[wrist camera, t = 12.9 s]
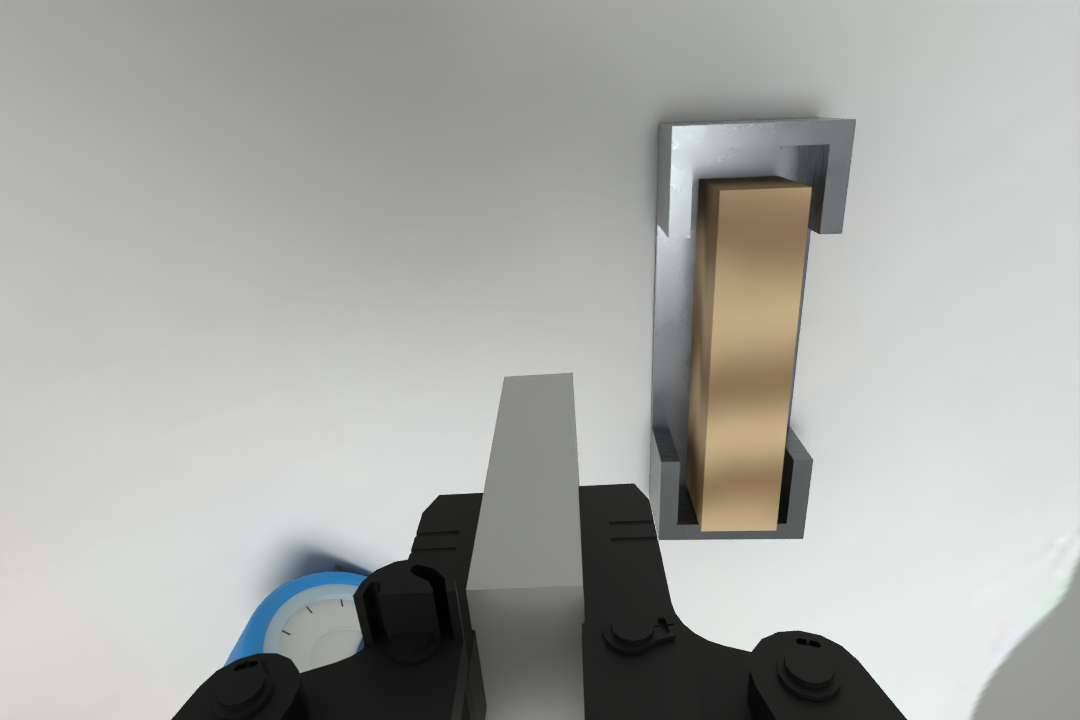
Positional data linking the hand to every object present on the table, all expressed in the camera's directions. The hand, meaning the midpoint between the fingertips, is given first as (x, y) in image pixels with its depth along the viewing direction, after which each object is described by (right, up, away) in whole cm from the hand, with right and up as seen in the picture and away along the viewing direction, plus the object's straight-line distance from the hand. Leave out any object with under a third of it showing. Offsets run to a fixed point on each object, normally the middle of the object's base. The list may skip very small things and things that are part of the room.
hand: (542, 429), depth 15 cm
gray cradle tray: (+10, +3, +23) cm, 25 cm away
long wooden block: (+10, +2, +22) cm, 25 cm away
